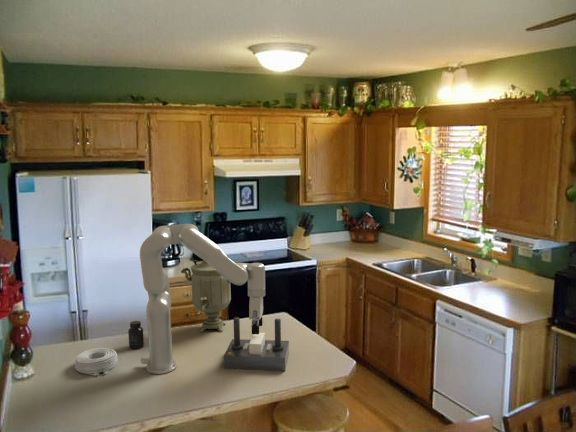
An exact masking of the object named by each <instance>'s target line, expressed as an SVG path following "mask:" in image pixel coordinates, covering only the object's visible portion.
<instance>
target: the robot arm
mask: <svg viewBox="0 0 576 432" xmlns="http://www.w3.org/2000/svg"><path fill="white" fill-rule="evenodd" d="M178 244H179V245H180V244H181V245H182V246H183V247H185V248H186V249H187V250H189V251H190V252H192V253H193V254H194V255H196V256H197V257H199V258H200V259H202V260H203V261H205V262H207V263H208V264H209V265H210V266H211V267H212V268H213V269H215V270H216V271H217V272H218V273H219V274H220V275H222V276H223V277H224V278H226V279H227V280H229V281H230V282H231V283H232V284H233V285H236V286H242V285H245V284H246V282H247V296H248V297H249V304H248V305H249V306H248V308H249V309H248V313H249V314H248V319H249V320H250V321H251V335H253V334H259V333H260V327H262V326H263V314H264V297H265V296H266V268H265V267H266V266H265V265H264V264H263V263H262V262H252V263H247V262H234V261H233V260H232V259H231V258H229V257H228V256H227V254H226V253H225V252H224V251H223V250H222V248H221V247H220V246H219V245H218V244H217V243H215V242H214V241H213V240H211V239H210V238H209V237H208V236H206V235H204V233H202V232H201V231H200V230H199V228H198V227H197V226H196V225H195V224H192V223H180V224H170V225H168V224H167V225H159V226H158V227H156V228H155V229H154V230H153V231H152V233H151V234H150V235H149V236H148V237H147V238H146V239H144V241H143V242H142V244H141V246H140V249H139V260H140V266H141V274H142V281H143V282H142V285H143V287H144V289H145V291H146V292H147V295H148V296H147V297H148V302H147V304H146V314H145V315H146V323H147V332H148V333H147V335H148V353H149V355H148V357H140V359H139V361H140V363H141V364H142V365H144V364H146V366H145V367H146V368H145V369H146V372H148V373H150V374H155V375H162V374H167V373H171V372H173V371H174V370H175V369H176V368H177V362H176V361H175V360H173V340H172V339H173V338H172V320H171V306H172V294H171V288H170V282H169V281H170V280H169V276H168V272H167V271H166V270H165V269H164V267H163V260H162V253H163V252H164V251H165V250H166V249H168V248H169V247H170V245H178ZM231 283H230V284H231Z"/></svg>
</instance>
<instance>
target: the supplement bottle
mask: <svg viewBox="0 0 576 432" xmlns="http://www.w3.org/2000/svg"><path fill="white" fill-rule="evenodd" d="M127 331H128V332H127V334H128V347H129V349H130V350H140V349H142V348H144V346H145V337H144V335H145V334H144V328H143V327H142V323H141V321H140V320H133V321H131V322H130V323H129V328H128V330H127Z"/></svg>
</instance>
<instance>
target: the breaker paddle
mask: <svg viewBox="0 0 576 432" xmlns="http://www.w3.org/2000/svg"><path fill="white" fill-rule="evenodd" d="M250 340H251V341H250V343H249V354H252V355H262V354H263V351H264V348H265V340H266V332H259V334H252V336H251V338H250Z"/></svg>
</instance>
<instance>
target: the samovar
mask: <svg viewBox="0 0 576 432" xmlns="http://www.w3.org/2000/svg"><path fill="white" fill-rule="evenodd" d="M192 262H193V265H191V266H190V268H189V267H185V268H182V269H181V270H180V272H181V274H184V276H185V278H186V280H187V281H189V282H191V299H192V301H191V302H192V304H193V306H194V307H195V308H196V309H197V310H198V311H200V312H202V313H205V315H204V316H205V317H206V319H205V320H204V321H203V322H202V324H201V326H202V329H200V331H199V332H200V333H203V332H204V331H205V330H206V329H208V330H211V329H212V330H214V329H215V330H218V332H219V333H223V332H224V330H223V329H222V327H224V325H226V323H225V322H224V320H222V319H221V318H219V316H220V312H221V311H223V310H225V309H226V308H227V307H229V305H230V303H231V300H232V294H231V293H232V292H231V282H230V281H229V280H227V279H226V278H224V277H223V276H222V275H220V274H219V273H218V272H217V271H216V270H215V269H213V268H212V267H211V266H210V265H209V264H208V263H207V262H205V261H204V260H203V261H201V262H199V263H197V262H198V259H197V260H196V259H195V260H193V261H192Z"/></svg>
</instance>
